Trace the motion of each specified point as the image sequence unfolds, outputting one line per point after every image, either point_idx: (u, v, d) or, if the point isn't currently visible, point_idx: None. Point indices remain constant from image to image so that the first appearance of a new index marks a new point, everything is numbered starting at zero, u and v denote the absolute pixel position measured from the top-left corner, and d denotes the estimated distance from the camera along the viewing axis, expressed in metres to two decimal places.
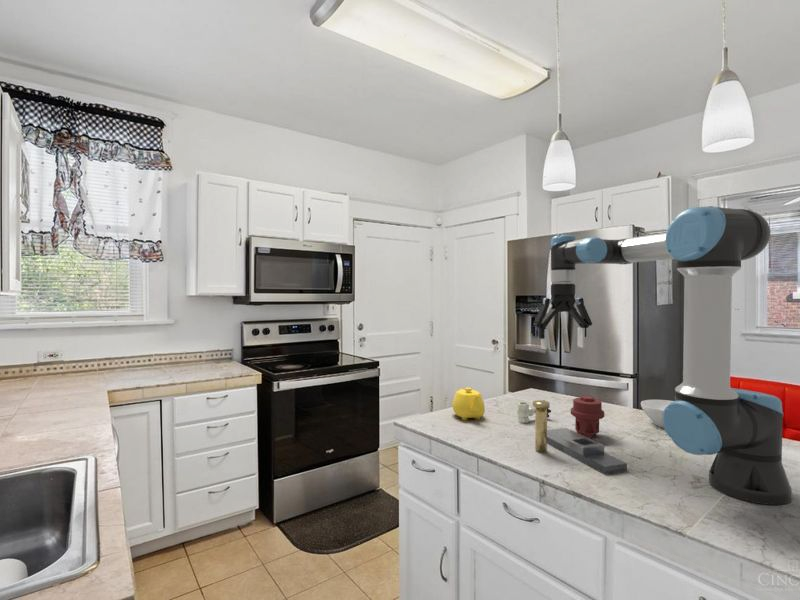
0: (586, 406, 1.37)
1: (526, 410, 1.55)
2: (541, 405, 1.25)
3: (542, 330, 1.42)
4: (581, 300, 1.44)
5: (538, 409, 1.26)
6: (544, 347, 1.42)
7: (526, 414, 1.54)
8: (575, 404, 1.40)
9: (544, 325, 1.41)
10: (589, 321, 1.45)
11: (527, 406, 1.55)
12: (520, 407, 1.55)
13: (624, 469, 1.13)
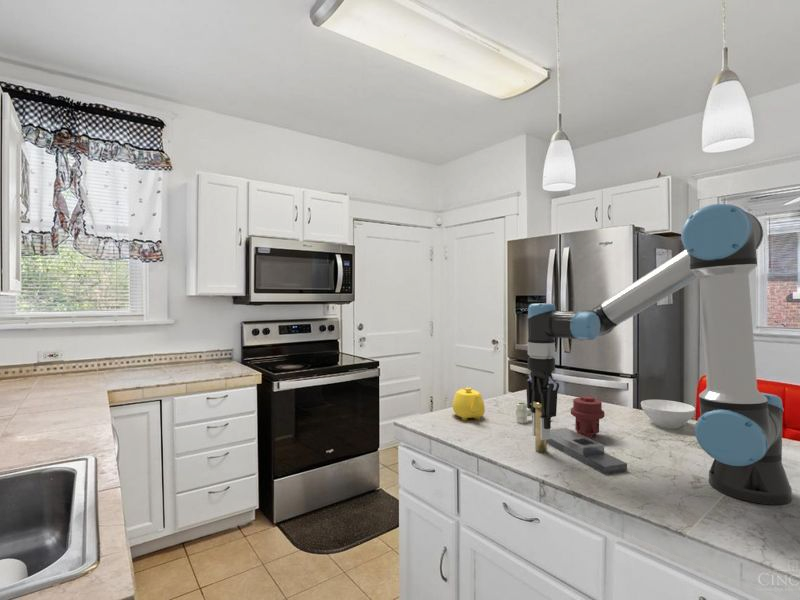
0: (586, 406, 1.37)
1: (524, 410, 1.54)
2: (541, 405, 1.25)
3: (533, 414, 1.30)
4: (549, 385, 1.22)
5: (538, 409, 1.26)
6: None
7: (524, 414, 1.54)
8: (575, 404, 1.40)
9: (531, 408, 1.30)
10: (547, 412, 1.23)
11: (525, 406, 1.54)
12: (518, 407, 1.55)
13: (624, 469, 1.13)
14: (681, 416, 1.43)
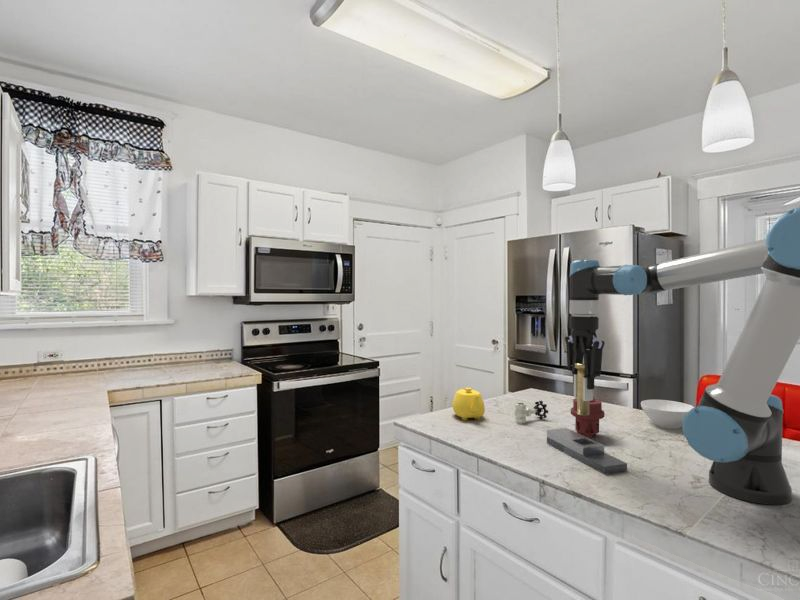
0: None
1: (523, 410, 1.54)
2: (584, 366, 1.21)
3: (574, 375, 1.26)
4: (594, 343, 1.17)
5: (581, 370, 1.22)
6: None
7: (523, 414, 1.54)
8: (575, 404, 1.40)
9: (572, 369, 1.26)
10: (591, 371, 1.18)
11: (524, 406, 1.54)
12: (517, 407, 1.55)
13: (624, 469, 1.13)
14: (681, 416, 1.43)
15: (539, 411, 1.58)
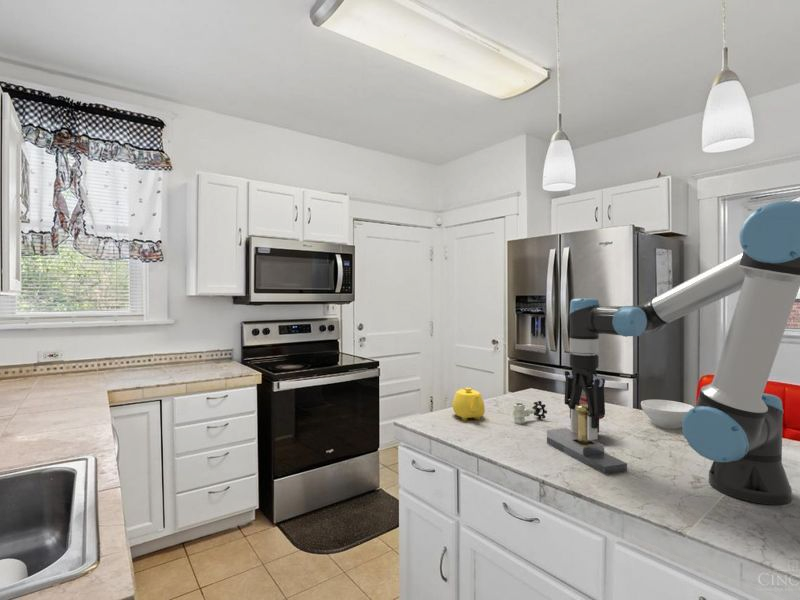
0: None
1: (522, 411, 1.54)
2: (585, 409, 1.21)
3: (570, 409, 1.28)
4: (595, 381, 1.17)
5: (581, 413, 1.22)
6: None
7: (522, 415, 1.53)
8: None
9: (569, 404, 1.27)
10: (595, 410, 1.17)
11: (523, 407, 1.54)
12: (516, 408, 1.54)
13: (624, 469, 1.13)
14: (681, 416, 1.43)
15: (538, 411, 1.58)
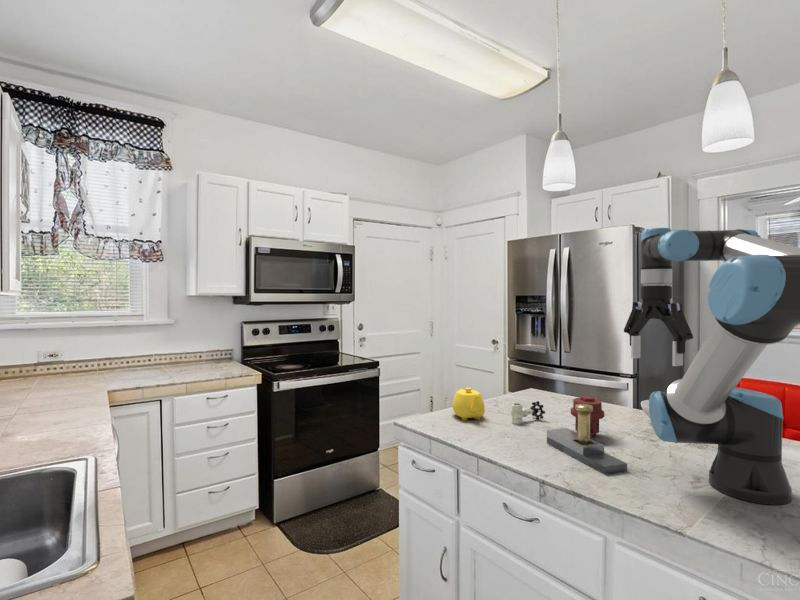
0: None
1: (520, 411, 1.53)
2: (585, 409, 1.21)
3: (631, 337, 1.29)
4: (672, 306, 1.15)
5: (581, 413, 1.22)
6: None
7: (520, 415, 1.53)
8: (575, 404, 1.40)
9: (630, 331, 1.28)
10: (682, 334, 1.12)
11: (521, 407, 1.54)
12: (514, 408, 1.54)
13: (624, 469, 1.13)
14: None
15: (536, 412, 1.58)
